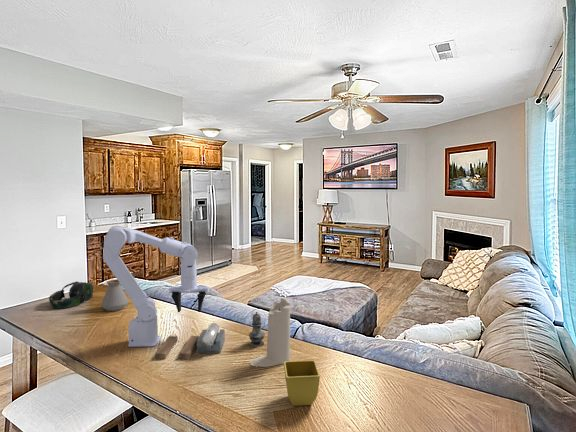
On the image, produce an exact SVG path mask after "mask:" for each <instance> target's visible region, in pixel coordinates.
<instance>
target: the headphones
mask: <svg viewBox="0 0 576 432" xmlns="http://www.w3.org/2000/svg"><path fill="white" fill-rule="evenodd" d="M70 286H71V287H70ZM68 287H70V288H69V291H68V296H69V297H68V298H66V295H65V290H64V289H65V288H68ZM93 294H94V286H93V283H91V282H85V281H84V282H81V281H74V282H73V281H72V282H71V283H68V284H66V285H65V286H64V287H62V289H60V290H58V291H55V292H54V293H51V294H50V295H49V297H48V300H49V305H50V306H51V308H52V309H54V310H56V309H57V310H62V309H68V308H69V307H70V308H71V307H75V306H78V305H80V304H82V303H86V302H87V301H89V300H90V299H92V298H93V296H94V295H93Z"/></svg>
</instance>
